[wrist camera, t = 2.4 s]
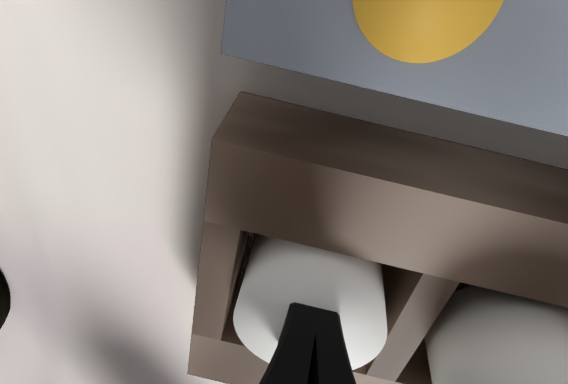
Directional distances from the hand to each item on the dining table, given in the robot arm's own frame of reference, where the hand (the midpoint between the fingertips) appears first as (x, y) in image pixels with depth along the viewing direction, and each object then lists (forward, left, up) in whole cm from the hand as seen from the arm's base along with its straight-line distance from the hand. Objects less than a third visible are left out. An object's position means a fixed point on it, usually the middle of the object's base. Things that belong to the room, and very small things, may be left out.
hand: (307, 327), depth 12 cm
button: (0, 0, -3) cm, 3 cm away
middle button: (-6, 0, -2) cm, 6 cm away
